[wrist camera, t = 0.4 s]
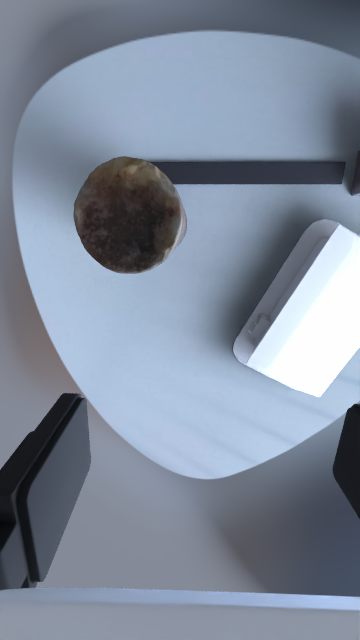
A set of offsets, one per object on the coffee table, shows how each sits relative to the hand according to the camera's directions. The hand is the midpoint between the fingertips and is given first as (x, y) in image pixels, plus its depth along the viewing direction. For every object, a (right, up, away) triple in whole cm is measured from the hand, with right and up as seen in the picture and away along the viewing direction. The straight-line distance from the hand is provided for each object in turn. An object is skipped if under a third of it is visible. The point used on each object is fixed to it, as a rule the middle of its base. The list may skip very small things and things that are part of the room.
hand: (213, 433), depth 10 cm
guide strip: (+5, +22, +24) cm, 34 cm away
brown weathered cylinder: (-4, +17, +27) cm, 32 cm away
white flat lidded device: (+18, +5, +30) cm, 35 cm away
